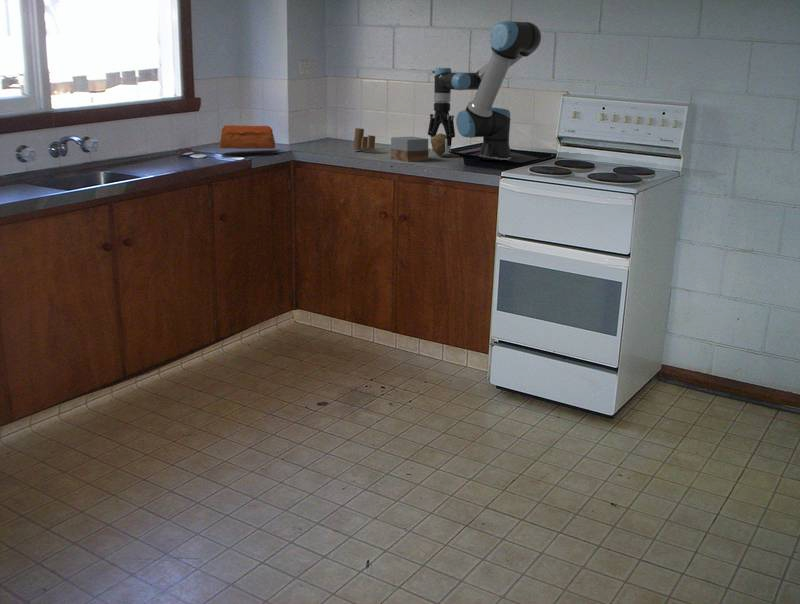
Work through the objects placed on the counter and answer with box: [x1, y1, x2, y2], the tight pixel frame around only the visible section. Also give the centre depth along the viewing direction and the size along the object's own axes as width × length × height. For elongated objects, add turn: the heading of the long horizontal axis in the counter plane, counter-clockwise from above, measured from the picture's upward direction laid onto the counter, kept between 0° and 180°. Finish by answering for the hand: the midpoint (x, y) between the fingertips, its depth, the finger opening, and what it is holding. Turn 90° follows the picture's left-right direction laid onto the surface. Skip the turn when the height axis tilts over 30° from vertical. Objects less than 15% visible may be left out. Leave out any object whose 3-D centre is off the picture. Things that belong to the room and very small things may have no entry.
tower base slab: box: [390, 148, 429, 163], centre depth 398 cm, size 12×12×5 cm
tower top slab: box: [390, 136, 429, 151], centre depth 397 cm, size 12×12×5 cm
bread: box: [219, 124, 276, 150], centre depth 430 cm, size 16×27×11 cm, turn 100°
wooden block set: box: [353, 127, 376, 151], centre depth 429 cm, size 18×9×10 cm, turn 20°
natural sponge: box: [430, 133, 446, 156], centre depth 409 cm, size 9×9×10 cm
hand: (440, 151), depth 410 cm, fingers closed on natural sponge, 9 cm apart
